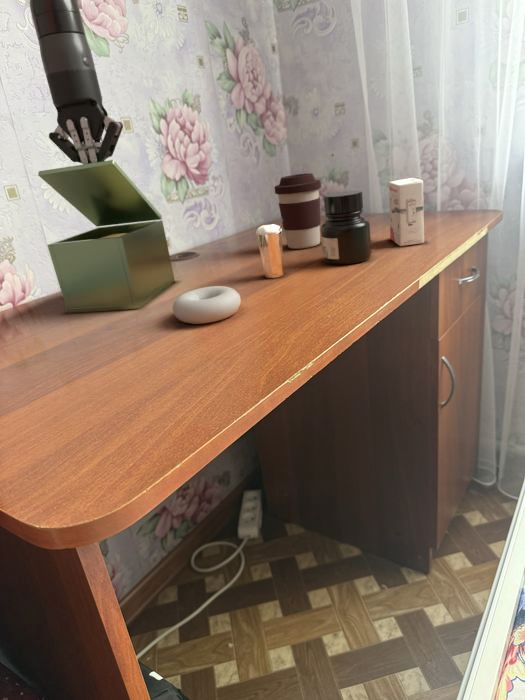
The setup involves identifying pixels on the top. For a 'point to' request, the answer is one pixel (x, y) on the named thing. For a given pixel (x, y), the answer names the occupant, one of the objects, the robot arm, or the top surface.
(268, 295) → the top surface
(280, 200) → the coffee cup
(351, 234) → the ink bottle
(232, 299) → the donut
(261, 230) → the milkshake
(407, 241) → the ink box
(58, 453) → the top surface
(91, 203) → the bin lid
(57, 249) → the bin
